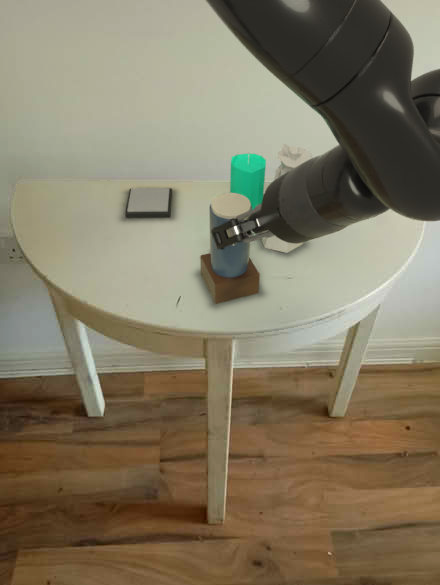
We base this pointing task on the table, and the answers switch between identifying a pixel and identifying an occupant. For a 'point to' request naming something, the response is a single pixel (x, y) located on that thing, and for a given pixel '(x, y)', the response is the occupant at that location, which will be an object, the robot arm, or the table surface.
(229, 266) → the canister
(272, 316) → the table surface
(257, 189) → the candle
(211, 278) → the block
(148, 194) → the scale
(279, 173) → the figurine
